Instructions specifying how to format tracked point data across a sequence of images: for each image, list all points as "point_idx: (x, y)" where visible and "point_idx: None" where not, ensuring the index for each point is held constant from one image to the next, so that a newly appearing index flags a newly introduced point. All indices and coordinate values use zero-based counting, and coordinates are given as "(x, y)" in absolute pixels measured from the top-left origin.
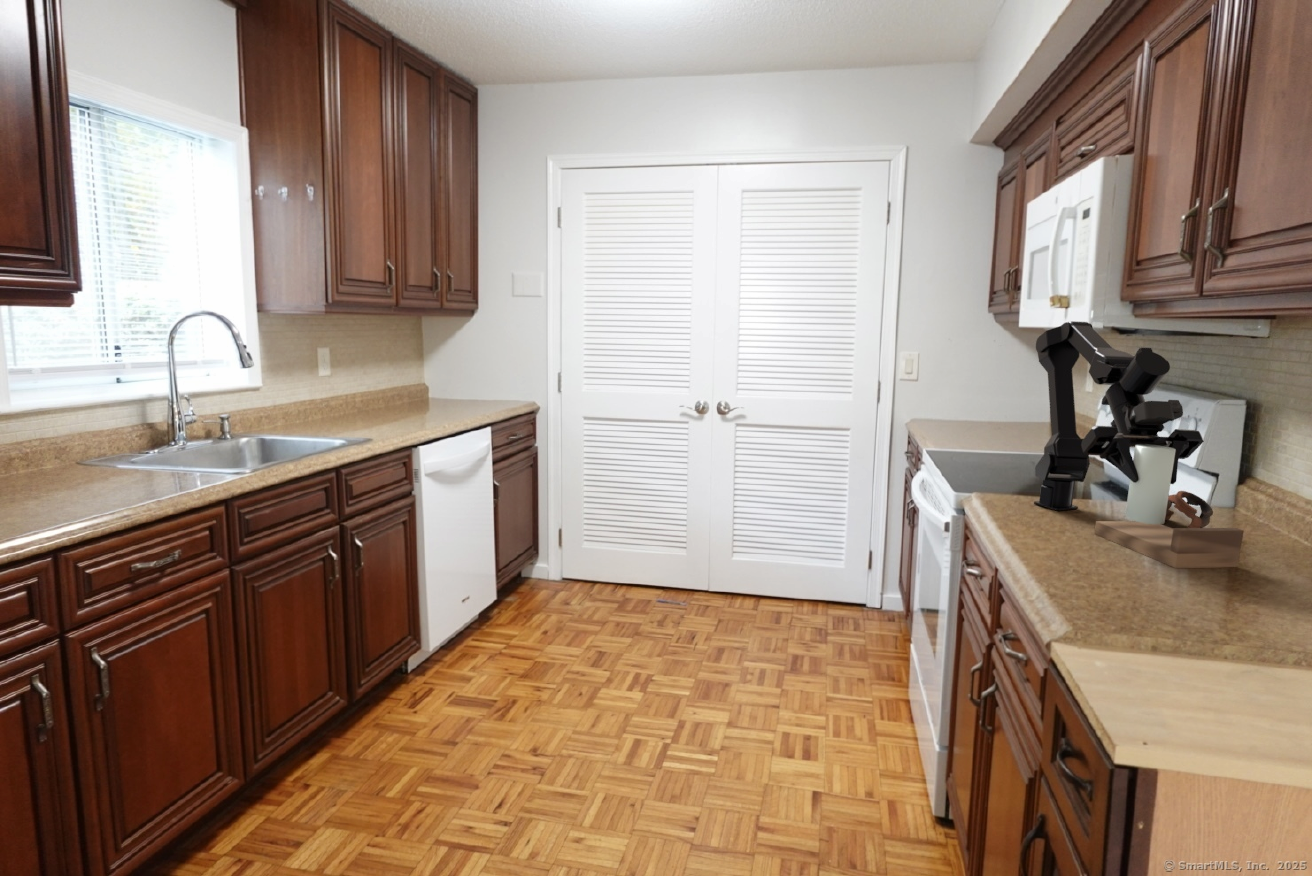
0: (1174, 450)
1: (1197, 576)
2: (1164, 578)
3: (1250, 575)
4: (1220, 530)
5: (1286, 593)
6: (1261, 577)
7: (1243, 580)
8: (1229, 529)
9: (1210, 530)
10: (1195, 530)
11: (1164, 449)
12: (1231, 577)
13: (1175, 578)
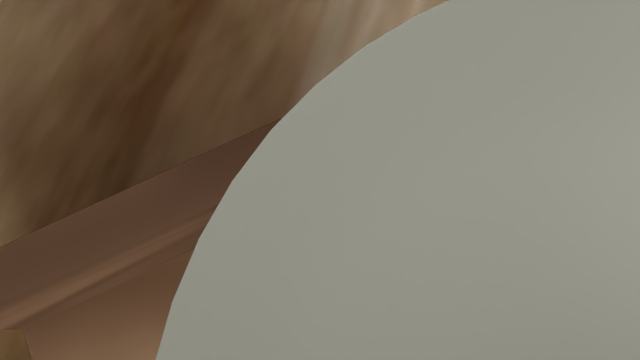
0: (253, 155)
1: (267, 86)
2: (401, 9)
3: (51, 185)
4: (68, 216)
5: (33, 11)
6: (21, 175)
7: (111, 105)
8: (2, 267)
9: (127, 192)
10: (215, 153)
11: (502, 167)
12: (140, 126)
13: (360, 26)
